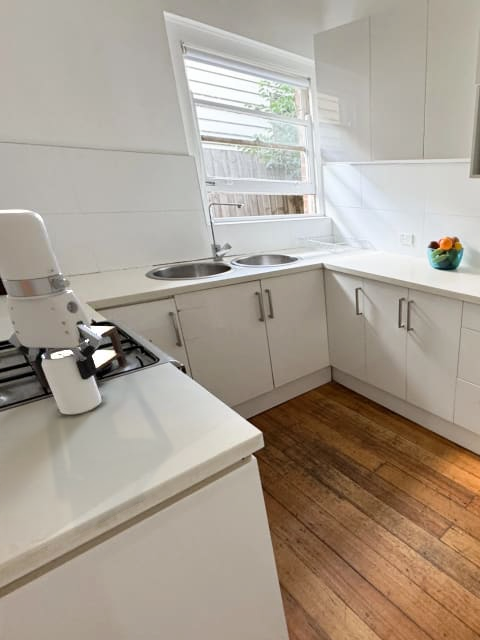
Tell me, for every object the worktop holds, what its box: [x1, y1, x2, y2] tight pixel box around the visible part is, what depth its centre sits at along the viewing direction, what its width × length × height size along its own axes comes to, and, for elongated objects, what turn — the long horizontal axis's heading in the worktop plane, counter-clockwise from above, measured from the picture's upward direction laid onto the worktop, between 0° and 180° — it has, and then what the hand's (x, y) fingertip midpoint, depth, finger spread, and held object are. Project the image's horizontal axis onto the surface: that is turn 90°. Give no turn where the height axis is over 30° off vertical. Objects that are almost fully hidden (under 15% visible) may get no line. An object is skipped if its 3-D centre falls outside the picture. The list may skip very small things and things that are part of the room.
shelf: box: [30, 325, 128, 388], centre depth 85 cm, size 11×11×10 cm
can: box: [41, 347, 102, 416], centre depth 73 cm, size 6×6×12 cm
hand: (70, 375), depth 73 cm, fingers closed on can, 6 cm apart
